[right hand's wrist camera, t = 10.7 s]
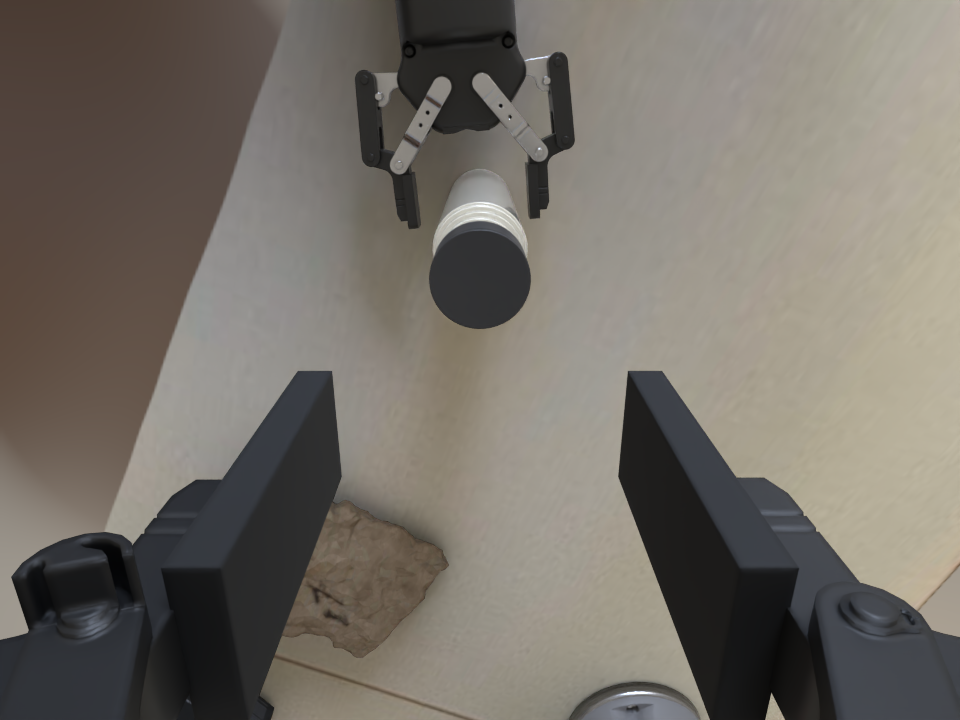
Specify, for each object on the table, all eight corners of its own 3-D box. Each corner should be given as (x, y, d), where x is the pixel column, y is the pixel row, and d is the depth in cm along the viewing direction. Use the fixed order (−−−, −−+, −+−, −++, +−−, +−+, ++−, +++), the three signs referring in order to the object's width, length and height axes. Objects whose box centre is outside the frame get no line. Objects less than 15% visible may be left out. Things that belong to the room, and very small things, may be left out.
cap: (432, 219, 28) (428, 228, 26) (529, 221, 28) (533, 231, 26) (433, 312, 30) (429, 328, 28) (524, 314, 30) (528, 330, 28)
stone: (176, 563, 60) (164, 604, 54) (263, 435, 58) (259, 463, 53) (366, 641, 67) (372, 683, 62) (446, 529, 66) (459, 562, 61)
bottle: (449, 167, 50) (422, 219, 26) (512, 169, 50) (540, 222, 26) (449, 230, 52) (423, 331, 28) (509, 232, 52) (534, 334, 28)
